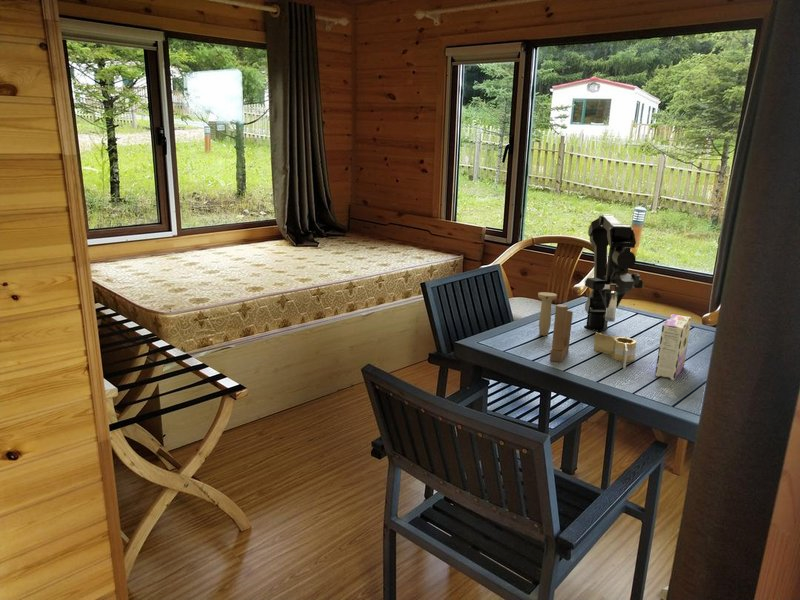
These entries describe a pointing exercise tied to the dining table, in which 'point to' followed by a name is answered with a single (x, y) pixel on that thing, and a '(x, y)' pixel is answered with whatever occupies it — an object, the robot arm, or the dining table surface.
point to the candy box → (673, 346)
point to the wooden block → (561, 333)
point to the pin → (611, 307)
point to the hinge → (616, 347)
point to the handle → (545, 312)
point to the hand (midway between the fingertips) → (611, 307)
